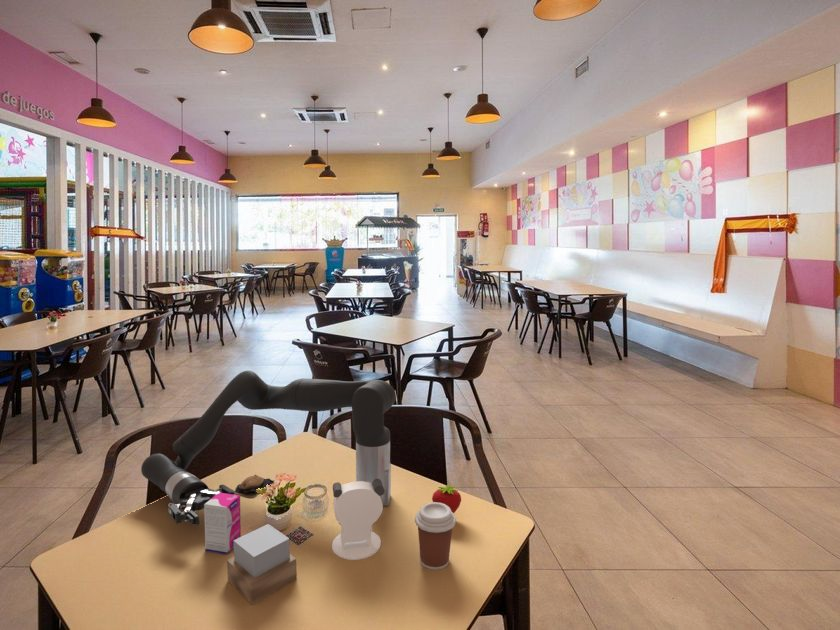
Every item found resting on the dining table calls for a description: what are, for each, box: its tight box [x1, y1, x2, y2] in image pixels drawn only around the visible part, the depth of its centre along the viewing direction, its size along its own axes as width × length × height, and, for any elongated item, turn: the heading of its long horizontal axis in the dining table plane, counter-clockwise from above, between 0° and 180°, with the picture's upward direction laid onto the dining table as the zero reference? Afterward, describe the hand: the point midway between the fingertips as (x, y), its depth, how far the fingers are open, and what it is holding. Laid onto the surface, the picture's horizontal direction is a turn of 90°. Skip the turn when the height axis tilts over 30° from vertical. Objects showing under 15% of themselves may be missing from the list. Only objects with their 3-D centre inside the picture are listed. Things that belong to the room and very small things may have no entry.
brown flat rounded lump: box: [234, 474, 276, 499], centre depth 138 cm, size 11×8×4 cm
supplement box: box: [203, 492, 242, 555], centre depth 110 cm, size 6×6×12 cm
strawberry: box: [431, 481, 462, 514], centre depth 123 cm, size 6×8×10 cm
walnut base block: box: [226, 553, 298, 606], centre depth 99 cm, size 10×10×5 cm
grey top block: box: [233, 523, 291, 578], centre depth 99 cm, size 8×8×4 cm
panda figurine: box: [331, 479, 385, 561], centre depth 111 cm, size 12×11×15 cm
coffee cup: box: [414, 501, 457, 571], centre depth 106 cm, size 9×9×12 cm
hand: (215, 513), depth 112 cm, fingers open, 8 cm apart
